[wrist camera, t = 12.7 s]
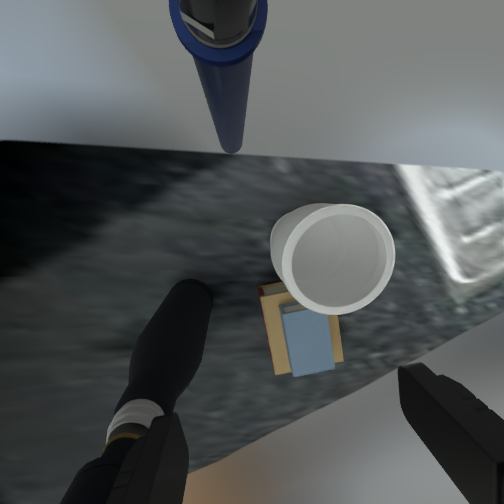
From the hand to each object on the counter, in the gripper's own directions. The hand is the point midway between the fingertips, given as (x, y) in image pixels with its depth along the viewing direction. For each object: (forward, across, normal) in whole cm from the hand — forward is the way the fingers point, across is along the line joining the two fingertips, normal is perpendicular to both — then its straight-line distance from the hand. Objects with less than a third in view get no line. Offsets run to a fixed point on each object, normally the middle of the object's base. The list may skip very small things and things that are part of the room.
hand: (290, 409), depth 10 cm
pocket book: (+26, -5, +12) cm, 29 cm away
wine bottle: (+30, +10, +6) cm, 32 cm away
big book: (+30, -5, +12) cm, 33 cm away
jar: (+30, -7, 0) cm, 31 cm away
